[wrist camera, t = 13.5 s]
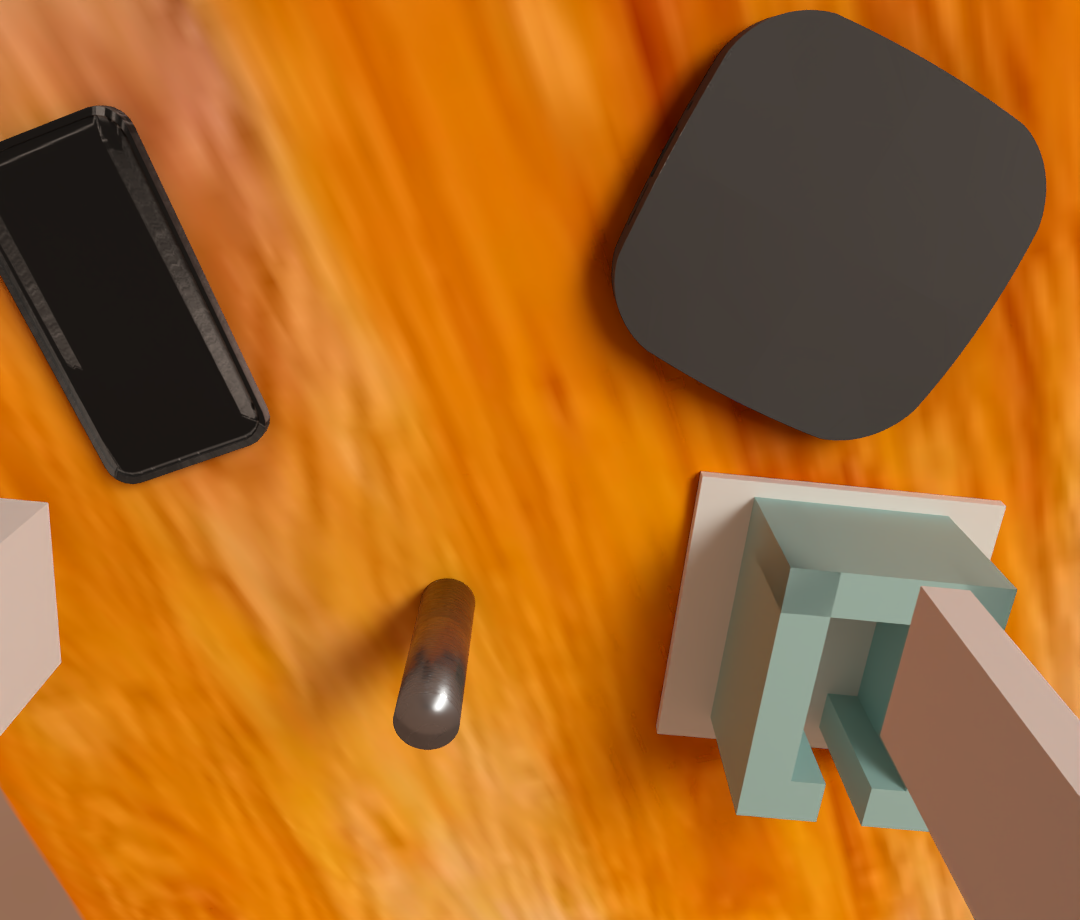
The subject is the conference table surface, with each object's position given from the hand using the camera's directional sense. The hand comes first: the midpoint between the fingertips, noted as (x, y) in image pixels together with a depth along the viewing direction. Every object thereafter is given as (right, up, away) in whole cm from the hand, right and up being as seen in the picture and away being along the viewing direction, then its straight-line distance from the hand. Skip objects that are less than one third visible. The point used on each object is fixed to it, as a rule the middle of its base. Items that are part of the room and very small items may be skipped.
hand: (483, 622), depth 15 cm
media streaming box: (+12, +12, +27) cm, 32 cm away
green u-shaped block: (+14, -5, +32) cm, 36 cm away
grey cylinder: (-4, -4, +32) cm, 33 cm away
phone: (-17, +9, +28) cm, 34 cm away
